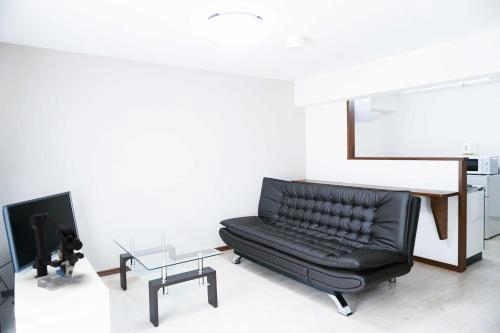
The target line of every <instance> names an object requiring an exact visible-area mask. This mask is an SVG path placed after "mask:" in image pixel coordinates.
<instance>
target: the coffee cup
mask: <svg viewBox="0 0 500 333" xmlns="http://www.w3.org/2000/svg"><path fill="white" fill-rule="evenodd" d="M56 250H57V256H58V260H62V259H61V257H62V252H60V250H61V243H60V244H58V246H57V249H56ZM65 264H66V266H67V265H69V261H67V262H65Z"/></svg>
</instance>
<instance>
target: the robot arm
mask: <svg viewBox="0 0 500 333" xmlns="http://www.w3.org/2000/svg"><path fill="white" fill-rule="evenodd" d="M29 217H30V218H29V219H28V222H29V224H30V227H31V228H32V229H33V230H34V235H35V244H36V251H37V253H36V255H35V257H34V258H35V259H34V260H35V261H34V263H33V264H32V269H34V270H36V275H34V278H36V279H38V278H42V277H45V276H48V275H49V274H48V273H49V270H48V266H49V267H51V268H55V269H56V268H59V269H60V268H61V270H62V272H63V273H64V275H66V268H65V266H66V264H65V262H67V261H69V265H71V266H73V269H74V268H75V265H76V263H78V262H79V259H80V260H81V259H84V258H85V254H84V253H83V252H81V251H80V250H82V249H83V247H84V245H83V244H84V243H83V242H82V241H81V240H80V238H78V237H77V234H76V233H75V231H74V228H72V227H71V226H69V225H66V224H63V223H62V222H60V221H59V220H58V219H57V218H56V217H54V216H53V215H52V212H46V213H40V214H35V215H32V216H29ZM46 224H47V225H49V226H50V227H51V228H52V229H54V231H56V235H57V236H58V237H59V239H58V240H57V241H58V242H60V244H61V250H60V252H62V257H61V259H62V260H59V259H54V260H52V259H53V258H52V253H51V252H49V251H48V250H47V249H48V248H47V243H46V235H45V229H44V228H45V226H46ZM75 251H77V252H75Z"/></svg>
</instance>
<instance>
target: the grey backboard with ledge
mask: <svg viewBox="0 0 500 333" xmlns="http://www.w3.org/2000/svg"><path fill="white" fill-rule="evenodd" d="M60 270H61V268H60V267H59V268H57V269H55V272H54V273H51V274H48V275H47V276H44V277H42V276H41V277H38V278H36V279H37V286H38V287H40V288H42V289H45V290H48V291H51V292H53V291H56V290H57V289H60V288H62V287H65V286H67V285H71V284H73V283H75V282H77V281H79V280H81V278H78V277H75V276H73V273H72V274H70V275H64V274H63V272H61V271H60Z"/></svg>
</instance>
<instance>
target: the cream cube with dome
mask: <svg viewBox="0 0 500 333" xmlns="http://www.w3.org/2000/svg"><path fill="white" fill-rule="evenodd" d="M65 268H66V275H70V274H72V275H73V274H74V268H73V266H71V265H67V266H65ZM60 271H61V272H62V270H60ZM63 274H64V273H63Z"/></svg>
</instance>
